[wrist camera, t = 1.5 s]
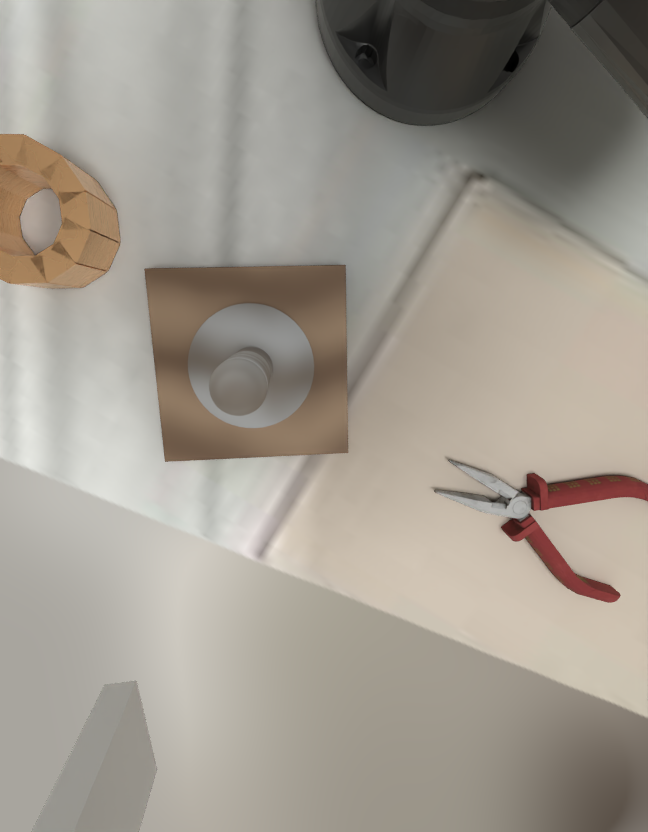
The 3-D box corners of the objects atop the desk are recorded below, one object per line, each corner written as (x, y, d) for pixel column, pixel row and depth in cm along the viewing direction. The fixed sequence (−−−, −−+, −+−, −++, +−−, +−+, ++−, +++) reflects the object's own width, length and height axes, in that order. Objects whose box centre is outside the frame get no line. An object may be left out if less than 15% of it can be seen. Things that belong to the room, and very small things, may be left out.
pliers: (465, 409, 37) (478, 416, 35) (661, 487, 41) (685, 499, 38) (408, 529, 39) (417, 544, 37) (599, 594, 43) (619, 612, 40)
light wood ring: (-15, 163, 30) (-72, 134, 26) (111, 163, 31) (78, 134, 26) (7, 289, 32) (-43, 284, 27) (125, 286, 33) (97, 281, 28)
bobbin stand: (150, 270, 33) (65, 242, 20) (342, 267, 34) (376, 238, 21) (170, 455, 36) (106, 532, 23) (345, 447, 37) (376, 516, 24)
